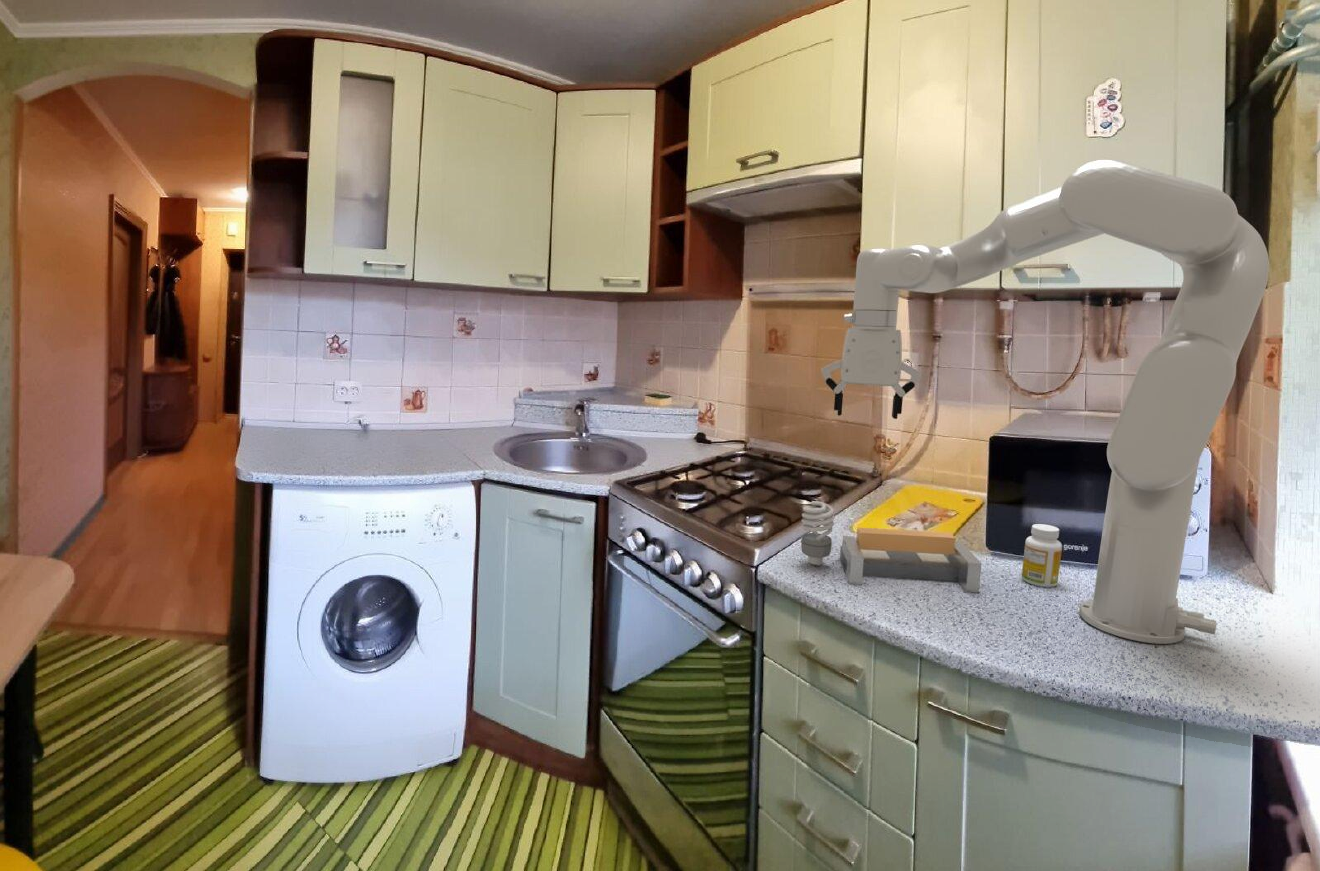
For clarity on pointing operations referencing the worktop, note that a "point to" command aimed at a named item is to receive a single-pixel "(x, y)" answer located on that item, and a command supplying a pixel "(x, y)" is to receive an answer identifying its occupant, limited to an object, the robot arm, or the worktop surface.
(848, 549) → the holder stand
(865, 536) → the orange long rectangular bar
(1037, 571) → the supplement bottle
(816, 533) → the light bulb
